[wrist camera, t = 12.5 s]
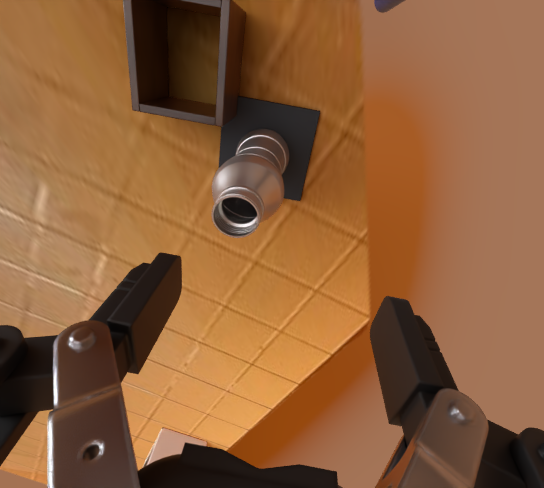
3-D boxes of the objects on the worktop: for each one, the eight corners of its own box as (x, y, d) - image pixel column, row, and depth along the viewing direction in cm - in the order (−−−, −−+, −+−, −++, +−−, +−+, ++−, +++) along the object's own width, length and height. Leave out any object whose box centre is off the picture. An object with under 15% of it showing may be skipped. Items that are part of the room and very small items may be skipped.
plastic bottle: (233, 132, 38) (176, 187, 21) (283, 118, 37) (266, 165, 20) (248, 179, 41) (209, 260, 24) (295, 168, 40) (289, 245, 23)
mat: (224, 93, 37) (223, 93, 36) (320, 110, 37) (320, 111, 36) (218, 184, 43) (217, 186, 42) (300, 199, 43) (300, 201, 42)
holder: (159, -4, 32) (120, -23, 25) (246, 12, 32) (230, -2, 25) (163, 102, 38) (132, 110, 31) (237, 115, 38) (222, 127, 31)
